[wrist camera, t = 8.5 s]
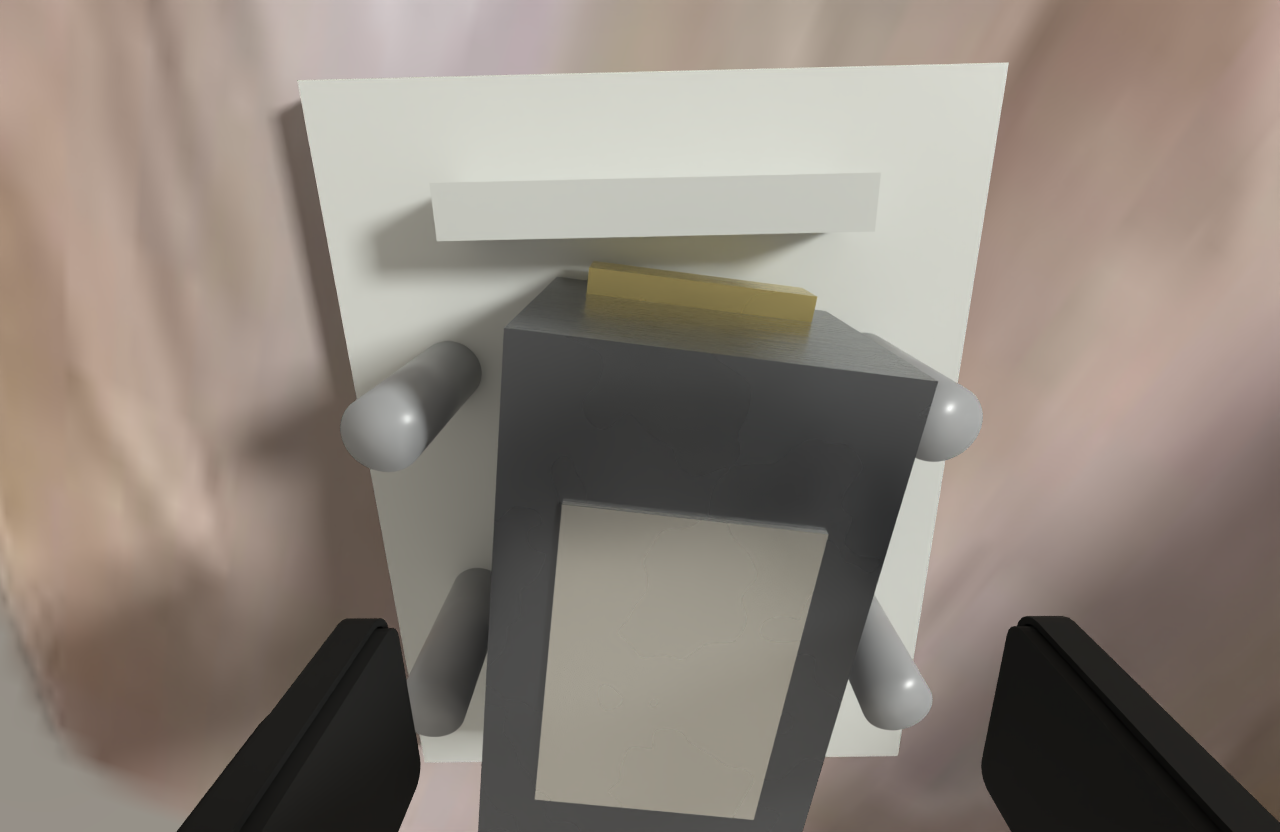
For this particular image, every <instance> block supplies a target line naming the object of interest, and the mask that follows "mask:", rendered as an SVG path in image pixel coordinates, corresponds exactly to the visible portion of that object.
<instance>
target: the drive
mask: <svg viewBox="0 0 1280 832" xmlns="http://www.w3.org/2000/svg"><path fill="white" fill-rule="evenodd" d="M816 301H817V296H816V295H814V294H812V293H810V292H809V291H807V290H805V289H803V288H800V287H792V286H785V285H777V284H769V283H761V282H754V281H746V280H738V279H730V278H723V277H715V276H707V275H699V274H691V273H684V272H676V271H668V270H660V269H653V268H645V267H637V266H629V265H621V264H614V263H606V262H598V261H593V263H592V264H591V265H590V267H589V273H588V281H586V280H578V279H571V278H563V277H556V278H555V279H554V280H553V281H552V282H551V283H550V284H549V285H548V286H547V287H546V288H545V289H544V290H543V291H542V292H541V293H540V294H539V295H538V296H537V297H535V298H534V299H533V300H532V301H531V302H530V303H529V304H528V305H527V306H526V307H525V308H524V309H523V310H522V311H521V312H520V313H519V314H518V315H517V316H516V317H515V318H514V319H513V320H512V321H510V322H509V323H508V324H507V325H506V326H505V327H504V336H503V356H502V376H501V395H500V415H499V434H498V454H497V474H496V493H495V513H494V533H493V552H492V572H491V591H490V611H489V631H488V650H487V670H486V690H485V709H484V729H483V748H482V768H481V788H480V807H479V827H478V832H802V831H803V828H804V825H805V821H806V818H807V815H808V812H809V808H810V805H811V802H812V798H813V795H814V792H815V788H816V785H817V782H818V778H819V775H820V772H821V768H822V765H823V762H824V759H825V755H826V752H827V749H828V745H829V742H830V739H831V735H832V732H833V729H834V725H835V722H836V719H837V716H838V712H839V709H840V706H841V702H842V699H843V696H844V692H845V689H846V686H847V682H848V679H849V676H850V672H851V669H852V666H853V663H854V659H855V656H856V653H857V649H858V646H859V643H860V639H861V636H862V633H863V629H864V626H865V623H866V620H867V616H868V613H869V610H870V606H871V603H872V600H873V596H874V593H875V590H876V586H877V583H878V580H879V576H880V573H881V570H882V567H883V563H884V560H885V557H886V553H887V550H888V547H889V543H890V540H891V537H892V533H893V530H894V527H895V524H896V520H897V517H898V514H899V510H900V507H901V504H902V500H903V497H904V494H905V490H906V487H907V484H908V480H909V477H910V474H911V471H912V467H913V464H914V461H915V457H916V454H917V451H918V447H919V444H920V441H921V437H922V434H923V431H924V428H925V424H926V421H927V418H928V414H929V411H930V408H931V404H932V401H933V398H934V394H935V391H936V388H937V384H938V381H937V380H935V379H934V378H932V377H930V376H929V375H927V374H926V373H924V372H922V371H921V370H919V369H918V368H916V367H915V366H913V365H911V364H910V363H908V362H907V361H905V360H903V359H902V358H900V357H899V356H897V355H895V354H894V353H892V352H891V351H889V350H887V349H886V348H884V347H883V346H881V345H879V344H878V343H876V342H875V341H873V340H871V339H870V338H868V337H867V336H865V335H863V334H862V333H860V332H859V331H857V330H855V329H854V328H852V327H851V326H849V325H847V324H846V323H844V322H843V321H841V320H839V319H838V318H836V317H835V316H833V315H832V314H830V313H828V312H827V311H822V310H815V306H816Z"/></svg>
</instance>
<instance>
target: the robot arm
mask: <svg viewBox="0 0 1280 832" xmlns="http://www.w3.org/2000/svg"><path fill="white" fill-rule="evenodd" d="M981 768H982V775H983V780H984V782H985V785H986V788H987V790H988V792H989V794H990V795H991V797H992V799H993V801H994V802H995V804H996V806H997V808H998V809H999V811H1000V813H1001V814H1002V816H1003V818H1004V820H1005V821H1006V823H1007V825H1008V827H1009V828H1010V830H1011V832H1280V823H1279V822H1278V821H1277V820H1276V819H1275V818H1274V817H1273V816H1272V815H1271V814H1270V813H1269V812H1268V811H1267V810H1266V809H1265V808H1264V807H1263V806H1262V805H1261V804H1260V803H1259V802H1258V801H1257V800H1256V799H1255V798H1254V797H1253V796H1252V795H1251V794H1250V793H1249V792H1248V791H1247V790H1246V789H1245V788H1244V787H1243V786H1242V785H1241V784H1240V783H1239V782H1237V781H1236V780H1235V779H1234V778H1233V777H1232V776H1231V775H1230V774H1229V773H1228V772H1227V771H1226V770H1225V769H1224V768H1223V767H1222V766H1221V765H1220V764H1219V763H1218V762H1217V761H1216V760H1215V759H1214V758H1213V757H1212V756H1211V755H1210V754H1209V753H1208V752H1207V751H1206V750H1205V749H1204V748H1203V747H1202V746H1201V745H1200V744H1199V743H1198V742H1197V741H1196V740H1195V739H1194V738H1193V737H1192V736H1190V735H1189V734H1188V733H1187V732H1186V731H1185V730H1184V729H1183V728H1182V727H1181V726H1180V725H1179V724H1178V723H1177V722H1176V721H1175V720H1174V719H1173V718H1172V717H1171V716H1170V715H1169V714H1168V713H1167V712H1166V711H1165V710H1164V709H1163V708H1162V707H1161V706H1160V705H1159V704H1158V703H1157V702H1156V701H1155V700H1154V699H1153V698H1152V697H1151V696H1150V695H1149V694H1148V693H1147V692H1146V691H1145V690H1143V689H1142V688H1141V687H1140V686H1139V685H1138V684H1137V683H1136V682H1135V681H1134V680H1133V679H1132V678H1131V677H1130V676H1129V675H1128V674H1127V673H1126V672H1125V671H1124V670H1123V669H1122V668H1121V667H1120V666H1119V665H1118V664H1117V663H1116V662H1115V661H1114V660H1113V659H1112V658H1111V657H1110V656H1109V655H1108V654H1107V653H1106V652H1105V651H1104V650H1103V649H1102V648H1101V647H1100V646H1099V645H1098V644H1096V643H1095V642H1094V641H1093V640H1092V639H1091V638H1090V637H1089V636H1088V635H1087V634H1086V633H1085V632H1084V631H1083V630H1082V629H1081V628H1080V627H1079V626H1078V625H1077V624H1076V623H1075V622H1074V621H1072V620H1071V619H1070V618H1068V617H1064V616H1026V617H1023V618H1021V620H1020V621H1019V622H1018V625H1017V626H1014V627H1011V628H1010V629H1009V630H1008V633H1007V637H1006V642H1005V647H1004V652H1003V657H1002V662H1001V667H1000V672H999V677H998V682H997V687H996V692H995V697H994V702H993V707H992V712H991V717H990V722H989V727H988V732H987V737H986V742H985V747H984V752H983V757H982V764H981ZM419 775H420V756H419V750H418V744H417V738H416V733H415V727H414V721H413V715H412V710H411V704H410V698H409V693H408V687H407V681H406V675H405V670H404V664H403V658H402V652H401V647H400V641H399V636H398V632H397V631H396V629H394V628H388V626H387V623H386V622H385V620H383V619H381V618H379V619H344V620H342V621H341V622H340V623H339V624H338V625H337V627H336V628H335V629H334V631H333V632H332V633H331V635H330V636H329V637H328V638H327V640H326V641H325V642H324V644H323V645H322V646H321V648H320V649H319V650H318V652H317V653H316V654H315V655H314V657H313V658H312V659H311V661H310V662H309V663H308V665H307V666H306V667H305V668H304V670H303V671H302V672H301V674H300V675H299V676H298V678H297V679H296V680H295V682H294V683H293V684H292V685H291V687H290V688H289V689H288V691H287V692H286V693H285V695H284V696H283V697H282V699H281V700H280V701H279V702H278V704H277V705H276V706H275V708H274V709H273V710H272V712H271V713H270V714H269V715H268V716H267V717H266V718H265V719H264V720H263V721H262V722H261V723H260V724H259V725H258V727H257V728H256V729H255V731H254V732H253V733H252V735H251V736H250V737H249V738H248V740H247V741H246V742H245V744H244V745H243V746H242V747H241V749H240V750H239V751H238V753H237V754H236V755H235V757H234V758H233V759H232V760H231V762H230V763H229V764H228V766H227V767H226V768H225V770H224V771H223V772H222V773H221V775H220V776H219V777H218V779H217V780H216V781H215V782H214V784H213V785H212V786H211V788H210V789H209V790H208V792H207V793H206V794H205V795H204V797H203V798H202V799H201V801H200V802H199V803H198V805H197V806H196V807H195V808H194V810H193V811H192V812H191V814H190V815H189V816H188V818H187V819H186V820H185V821H184V823H183V824H182V825H181V827H180V828H179V829H178V830H177V832H398V831H399V829H400V826H401V824H402V821H403V819H404V816H405V814H406V812H407V809H408V807H409V804H410V802H411V800H412V797H413V795H414V792H415V790H416V787H417V784H418V780H419Z"/></svg>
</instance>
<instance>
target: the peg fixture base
mask: <svg viewBox="0 0 1280 832" xmlns="http://www.w3.org/2000/svg"><path fill="white" fill-rule="evenodd" d="M1008 64H1009V63H975V64H935V65H894V66H854V67H814V68H774V69H733V70H693V71H653V72H612V73H572V74H532V75H491V76H451V77H411V78H371V79H330V80H297V82H298V87H299V92H300V98H301V103H302V108H303V114H304V119H305V125H306V130H307V135H308V141H309V146H310V151H311V157H312V162H313V167H314V173H315V178H316V183H317V189H318V194H319V199H320V205H321V210H322V216H323V221H324V226H325V232H326V237H327V242H328V248H329V253H330V258H331V264H332V269H333V274H334V280H335V285H336V290H337V296H338V301H339V307H340V312H341V317H342V323H343V328H344V333H345V339H346V344H347V349H348V355H349V360H350V365H351V371H352V376H353V381H354V387H355V392H356V398H357V400H356V401H354V402H353V403H352V404H350V405H349V406H348V408H347V409H346V410H345V412H344V414H343V416H342V419H341V424H340V432H341V437H342V441H343V443H344V445H345V447H346V449H347V450H348V452H349V453H350V454H351V455H352V457H353V458H354V459H356V460H357V461H358V462H359V463H361V464H362V465H364V466H366V467H368V468H370V472H371V478H372V483H373V489H374V494H375V499H376V505H377V510H378V515H379V521H380V526H381V531H382V537H383V542H384V547H385V553H386V558H387V563H388V569H389V574H390V580H391V585H392V590H393V596H394V601H395V606H396V612H397V617H398V622H399V628H400V633H401V638H402V644H403V649H404V655H405V660H406V665H407V671H408V678H407V680H406V681H407V687H408V693H409V698H410V704H411V710H412V715H413V721H414V727H415V733H417V734H419V735H420V740H421V746H422V751H423V756H424V762H425V763H433V762H482V748H483V729H484V709H485V690H486V670H487V650H488V631H489V611H490V591H491V572H492V552H493V533H494V513H495V493H496V474H497V454H498V434H499V415H500V395H501V376H502V356H503V336H504V327H505V326H506V325H507V324H508V323H509V322H510V321H512V320H513V319H514V318H515V317H516V316H517V315H518V314H519V313H520V312H521V311H522V310H523V309H524V308H525V307H526V306H527V305H528V304H529V303H530V302H531V301H532V300H533V299H534V298H535V297H537V296H538V295H539V294H540V293H541V292H542V291H543V290H544V289H545V288H546V287H547V286H548V285H549V284H550V283H551V282H552V281H553V280H554V279H555V278H556V277H563V278H571V279H578V280H586V281H588V273H589V267H590V265H591V264H592V263H593V261H598V262H606V263H614V264H621V265H629V266H637V267H645V268H653V269H660V270H668V271H676V272H684V273H691V274H699V275H707V276H715V277H723V278H730V279H738V280H746V281H754V282H761V283H769V284H777V285H785V286H792V287H800V288H803V289H805V290H807V291H809V292H810V293H812V294H814V295H816V296H817V301H816V306H815V310H822V311H827V312H828V313H830V314H832V315H833V316H835V317H836V318H838V319H839V320H841V321H843V322H844V323H846V324H847V325H849V326H851V327H852V328H854V329H855V330H857V331H859V332H860V333H862V334H863V335H865V336H867V337H868V338H870V339H871V340H873V341H875V342H876V343H878V344H879V345H881V346H883V347H884V348H886V349H887V350H889V351H891V352H892V353H894V354H895V355H897V356H899V357H900V358H902V359H903V360H905V361H907V362H908V363H910V364H911V365H913V366H915V367H916V368H918V369H919V370H921V371H922V372H924V373H926V374H927V375H929V376H930V377H932V378H934V379H935V380H937V381H938V384H937V388H936V391H935V394H934V398H933V401H932V404H931V408H930V411H929V414H928V418H927V421H926V424H925V428H924V431H923V434H922V437H921V441H920V444H919V447H918V451H917V454H916V457H915V461H914V464H913V467H912V471H911V474H910V477H909V480H908V484H907V487H906V490H905V494H904V497H903V500H902V504H901V507H900V510H899V514H898V517H897V520H896V524H895V527H894V530H893V533H892V537H891V540H890V543H889V547H888V550H887V553H886V557H885V560H884V563H883V567H882V570H881V573H880V576H879V580H878V583H877V586H876V590H875V593H874V596H873V600H872V603H871V606H870V610H869V613H868V616H867V620H866V623H865V626H864V629H863V633H862V636H861V639H860V643H859V646H858V649H857V653H856V656H855V659H854V663H853V666H852V669H851V672H850V676H849V679H848V682H847V686H846V689H845V692H844V696H843V699H842V702H841V706H840V709H839V712H838V716H837V719H836V722H835V725H834V729H833V732H832V735H831V739H830V742H829V745H828V749H827V752H826V755H825V757H862V756H898V752H899V746H900V740H901V733H902V729H905V728H908V727H911V726H913V725H915V724H917V723H918V722H920V721H921V720H922V719H923V718H924V717H925V716H926V715H927V714H928V712H929V711H930V708H931V706H932V700H933V699H932V693H931V691H930V689H929V687H928V685H927V684H926V682H925V680H924V678H923V677H922V675H921V673H920V672H919V670H918V668H917V666H916V665H915V663H914V661H913V658H914V652H915V646H916V640H917V633H918V627H919V621H920V615H921V608H922V602H923V596H924V590H925V583H926V577H927V571H928V564H929V558H930V552H931V546H932V539H933V533H934V527H935V521H936V514H937V508H938V502H939V496H940V489H941V483H942V477H943V471H944V464H945V460H948V459H951V458H953V457H956V456H957V455H959V454H961V453H962V452H964V451H965V450H966V449H967V448H968V447H969V446H970V445H971V444H972V443H973V442H974V440H975V439H976V437H977V436H978V434H979V431H980V429H981V425H982V419H983V413H982V408H981V405H980V402H979V401H978V399H977V397H976V396H975V395H974V394H973V393H972V392H971V391H969V390H968V389H966V388H965V387H963V386H961V385H960V384H958V377H959V371H960V364H961V358H962V352H963V346H964V339H965V333H966V327H967V321H968V314H969V308H970V302H971V296H972V289H973V283H974V277H975V271H976V264H977V258H978V252H979V246H980V239H981V233H982V227H983V221H984V214H985V208H986V202H987V196H988V189H989V183H990V177H991V171H992V164H993V158H994V152H995V146H996V139H997V133H998V127H999V120H1000V114H1001V108H1002V102H1003V95H1004V89H1005V83H1006V77H1007V70H1008Z"/></svg>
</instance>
